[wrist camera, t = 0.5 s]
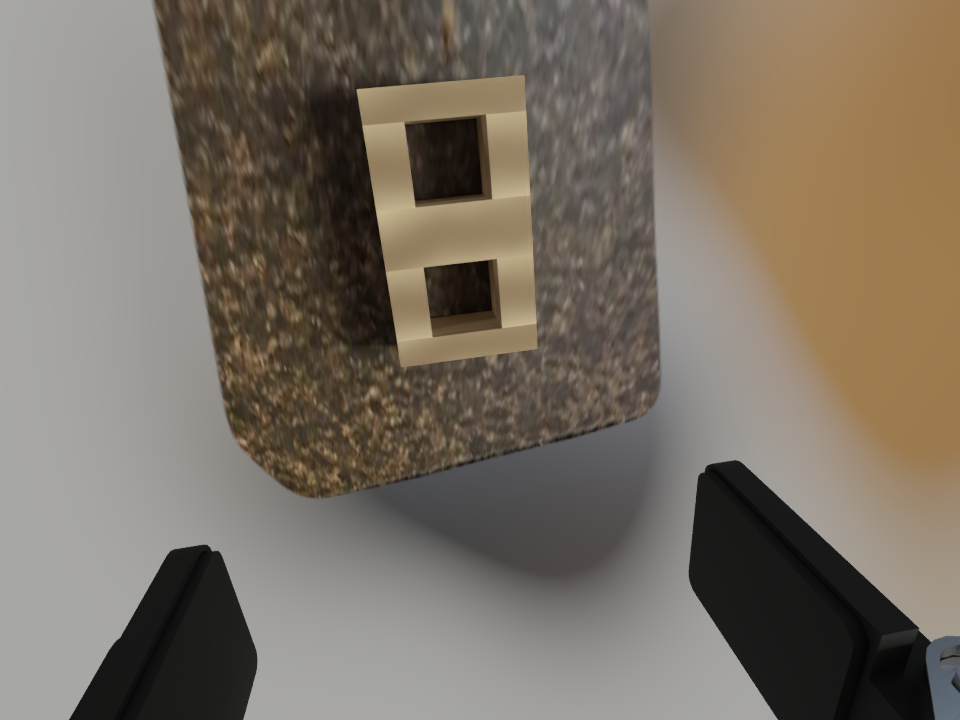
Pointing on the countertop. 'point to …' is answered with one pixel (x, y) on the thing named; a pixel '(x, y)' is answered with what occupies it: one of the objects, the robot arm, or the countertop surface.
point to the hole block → (455, 217)
